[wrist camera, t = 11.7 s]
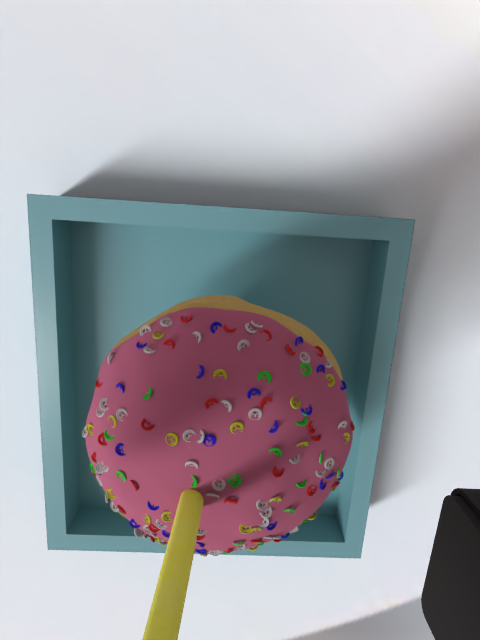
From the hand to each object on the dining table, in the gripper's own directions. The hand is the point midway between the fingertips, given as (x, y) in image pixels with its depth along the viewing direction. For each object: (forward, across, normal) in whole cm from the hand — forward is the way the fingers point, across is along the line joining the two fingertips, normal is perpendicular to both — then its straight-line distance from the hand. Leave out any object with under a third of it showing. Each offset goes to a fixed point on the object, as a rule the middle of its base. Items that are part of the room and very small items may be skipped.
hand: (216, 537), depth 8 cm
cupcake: (+10, 0, 0) cm, 10 cm away
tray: (+10, 0, +1) cm, 10 cm away
